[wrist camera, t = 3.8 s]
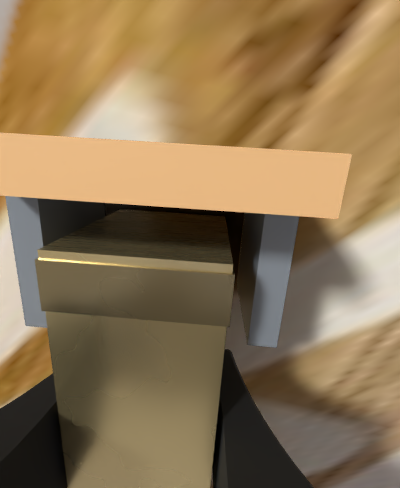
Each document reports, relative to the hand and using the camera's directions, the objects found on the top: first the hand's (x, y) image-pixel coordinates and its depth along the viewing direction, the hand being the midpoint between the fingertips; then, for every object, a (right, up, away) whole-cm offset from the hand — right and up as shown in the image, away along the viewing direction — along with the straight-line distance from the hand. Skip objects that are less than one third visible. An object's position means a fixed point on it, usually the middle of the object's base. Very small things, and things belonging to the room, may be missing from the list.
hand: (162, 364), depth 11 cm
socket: (0, +6, 0) cm, 6 cm away
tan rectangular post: (0, -2, +2) cm, 3 cm away
